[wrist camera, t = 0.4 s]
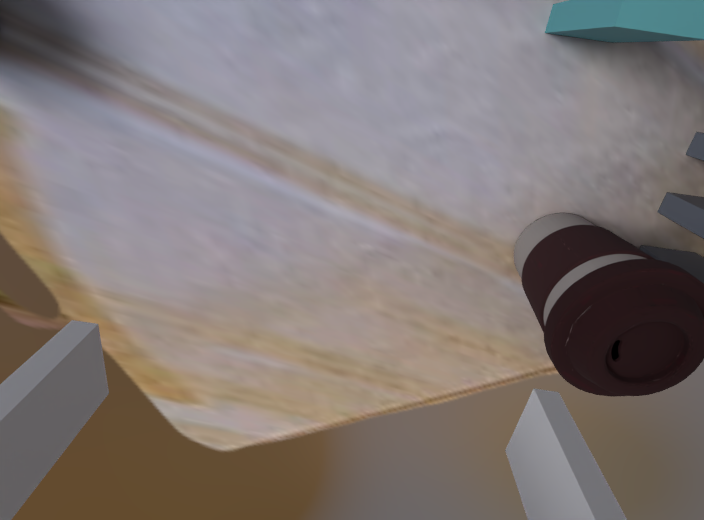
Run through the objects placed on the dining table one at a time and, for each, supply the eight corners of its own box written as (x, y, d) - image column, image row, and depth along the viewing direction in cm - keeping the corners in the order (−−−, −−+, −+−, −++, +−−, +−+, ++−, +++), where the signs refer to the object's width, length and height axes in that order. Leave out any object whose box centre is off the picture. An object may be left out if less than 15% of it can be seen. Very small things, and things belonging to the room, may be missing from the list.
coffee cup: (634, 222, 37) (782, 320, 23) (566, 308, 41) (659, 433, 28) (536, 178, 36) (634, 257, 22) (477, 272, 40) (529, 386, 26)
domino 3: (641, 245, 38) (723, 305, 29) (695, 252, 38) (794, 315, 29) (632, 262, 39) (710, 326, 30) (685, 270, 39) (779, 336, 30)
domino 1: (553, 4, 30) (628, -15, 21) (622, 14, 30) (726, -1, 21) (544, 32, 31) (614, 26, 22) (611, 42, 31) (708, 40, 22)
